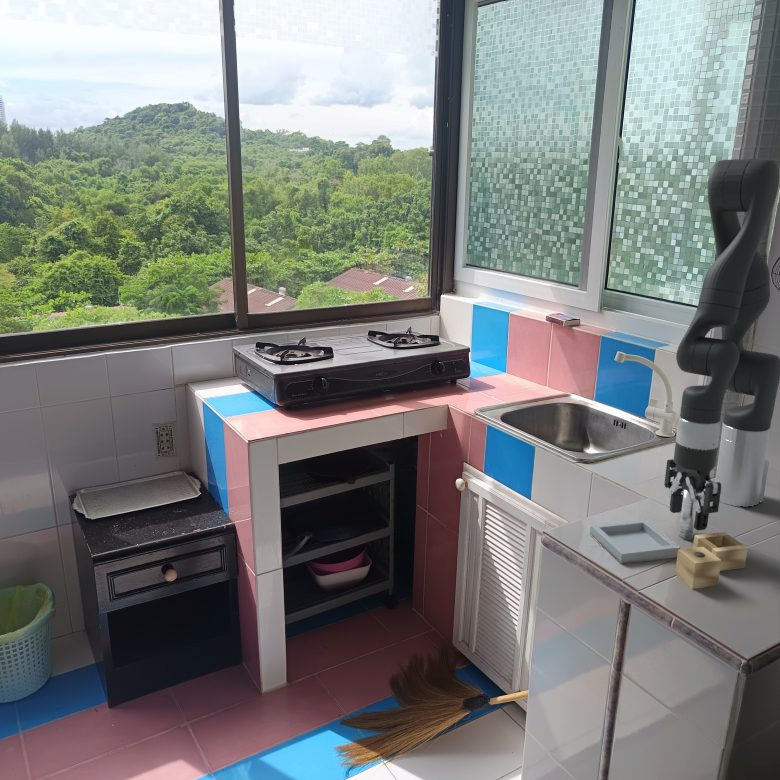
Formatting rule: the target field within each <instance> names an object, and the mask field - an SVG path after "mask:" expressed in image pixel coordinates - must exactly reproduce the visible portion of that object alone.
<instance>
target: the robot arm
mask: <svg viewBox="0 0 780 780" xmlns="http://www.w3.org/2000/svg"><path fill="white" fill-rule="evenodd" d="M779 186H780V169H779V166H778V164H777V162H776V161H775V160H773V159H771V158H744V159H743V158H740V159H739V158H732V159H722V160H718V161H717V162H716V163H714V164H713V165H712V167H711V168H710V170H709V175H708V180H707V201H708V207H709V213H710V219H711V226H712V232H713V236H714V237H713V238H714V244H715V254H716V256H715V257H716V258H715V261H714V262H713V263H712V264H711V265H710V267H709V269H708V270H707V272H706V273H705V276H704V278H703V281H702V284H701V290H700V294H699V300H698V304H697V307H696V310H695V311H696V312H695V314H694V316H693V318H692V320H691V323H690V324H689V326H688V328H687V330H686V331H685V334H684V335H683V337H682V339H681V341H680V343H679V345H678V347H677V350H676V357H675V358H676V359H675V361H676V365H677V366H678V368H679V369H680V370H681V371H682V372H684V373H687V374H693V375H700V376H705V377H709V378H710V377H711V380H710V382H709V384H704V385H701V384H700V385H691V386H687V387H686V388H685V389H684V390H683V392H682V395H681V396H682V397H681V403H680V405H681V406H680V413H679V420H678V423H677V426H676V427H677V428H676V435H675V436H676V437H675V444H674V445H675V446H674V453H673V458H672V459H667V460H666V465H665V466H666V467H665V477H664V485H663V486H664V487H665V488H666V489H668V490H669V491H668V493H669V494H670V499H669V511H670V512H671V513H672V514H677V513H681V510H682V502H683V493H684V489H685V490H687V491H688V492H689V493H690V495H691V499H692V500H693V501H694V502H695V506H696V515H695V523H694V530H696V531H705V530H706V529H707V527H708V523H709V522H708V521H709V515H710V514H715V513H718V512H719V507H720V501H721V503H722V504H726V505H728V506H734V507H739V508H741V507H740V506H743V507H742V508H749V507H748V506H752V507H755V506H754V505H756V504H758V505H759V504H760V503H761V502H760V501H763V502H764V499H765V491H766V485H767V480H768V471H769V466H770V465H769V464H770V462H769V460H767V459H766V458H767V452H768V446H769V437H770V433H771V432H770V430H771V425H772V420H773V416H774V415H773V414H774V411H775V404H776V399H777V394H778V389H779V386H780V357H779V356H778V355H777V354H773V353H766V352H760V351H753V350H746V349H745V347H744V344H743V343H744V338H745V336H746V334H747V332H748V331H749V330H750V328H751V327H752V326H753V324H754V323H755V322H756V321H757V320H758V319H759V318H760V317H761V316H762V314H763V312H764V311H765V310H766V308H767V306H768V304H769V302H770V299H771V289H770V287H771V286H770V285H771V284H770V283H771V281H770V268H769V266H768V264H767V262H766V261H765V258H764V257H763V255H762V254H761V253H760V251H758V247H759V245H760V243H761V240H762V237H763V234H764V231H765V229H766V226H767V224H768V221H769V218H770V216H771V213H772V210H773V207H774V204H775V202H776V198H777V194H778V191H779ZM738 213H746V215H745V219H744V222H743V224H742V226H741V222H740V220H739V216H738ZM714 328H720V329H721V332H720V333H721V338H714V337H707V335H708V333H709V332H710V331H711V330H712V329H714ZM727 391H728V392H729V391H730V392H732V393H737V394H743V395H747V396H752V397H754V400H753V402H752V403H750V404H745V405H737V406H731V407H729V408H727V409H726V410H724V413H723V419H722V427H721V416H722V410H723V409H722V407H723V402H724V398H725V394H726V392H727ZM720 435H721V436H720ZM718 449H719V450H718ZM714 468H716V473H715V480H714V481H715V482H714V481H712V479H711V472H712V470H713V469H714ZM672 478H673V480H672V481H671V479H672ZM702 493H703V495H699V494H702ZM697 494H698V495H697ZM701 501H703V503H702V502H701ZM759 502H760V503H759ZM711 503H712V504H711ZM702 504H703V505H702ZM756 506H757V505H756Z"/></svg>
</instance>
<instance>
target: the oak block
mask: <svg viewBox="0 0 780 780" xmlns="http://www.w3.org/2000/svg"><path fill="white" fill-rule="evenodd" d="M693 537H694V538H693V544H692V548H696V547H704V548H706V549H707V550H708V551H710V552H711V553H712V554H714V555H715V556H716V557H718V558H719V559H720V560H721V566H720V572H721V571H722V572H724V571H730V570H737V569H745V568H746V562H747V555H748V549H749V547H747V546H745V545H744V544H743V543H741V542H740V541H739V540H737V539H735V538H734V537H732V536H731V535H729V533H727V532H725V531H723V532H714V533H712V532H711V533H705V534H695V535H693Z"/></svg>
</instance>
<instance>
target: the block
mask: <svg viewBox="0 0 780 780" xmlns="http://www.w3.org/2000/svg"><path fill="white" fill-rule="evenodd" d="M720 566H721V560H720V559H719V558H718V557H716V556H715V555H714V554H712V553H711V552H710V551H708V550H707V549H706V548H704V547H696V548H693V547H689V548H680V549H679V550H678V555H677V557H676V565H675V573H674V575H675V576H676V577H677V578H679V580H681V581H682V582H683V583H684V584H685V585H686V586H688V587H689V588H690V589H692V590H695V589H702V588H703V589H704V588H711V587H718V585H719V579H720V573H721V571H720Z"/></svg>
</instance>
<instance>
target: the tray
mask: <svg viewBox="0 0 780 780" xmlns="http://www.w3.org/2000/svg"><path fill="white" fill-rule="evenodd" d="M589 530H590V531H589V535H590V534H591V535H592V536H593V537H594V538H595V539H596V540H597V541H598V542H599V543H600V544H601V545H602V546H603V547H602V548H603V549H605V551H607V552H608V553H609V554H610V555H611V556H612V557H613V558H614V559H615V560H616V561H617V562H619V564H620V565H623V564H625V565H626V564H631V563H639V562H649V561H656V560H657V561H658V560H666V559H674V558H677V555H678V550H679V549H682V548H681V547H682V546H679V544H677V543H676V542H675V541H673V540H672V539H671V538H669V537H668V536H667V535H666V534H664V533H663V532H662V531H661V530H659V529H658V528H657V527H656V526H655V525H653V524H652V523H650V522H649V521H648V520H646V519H637V520H627V521H620V522H619V521H618V522H610V523H600V524H590V527H589ZM591 535H590V536H591ZM592 536H591V537H592ZM593 537H592V538H593ZM594 538H593V539H594ZM595 539H594V540H595ZM596 540H595V541H596ZM597 541H596V542H597ZM598 542H597V543H598ZM599 543H598V544H599ZM600 544H599V545H600Z"/></svg>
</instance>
